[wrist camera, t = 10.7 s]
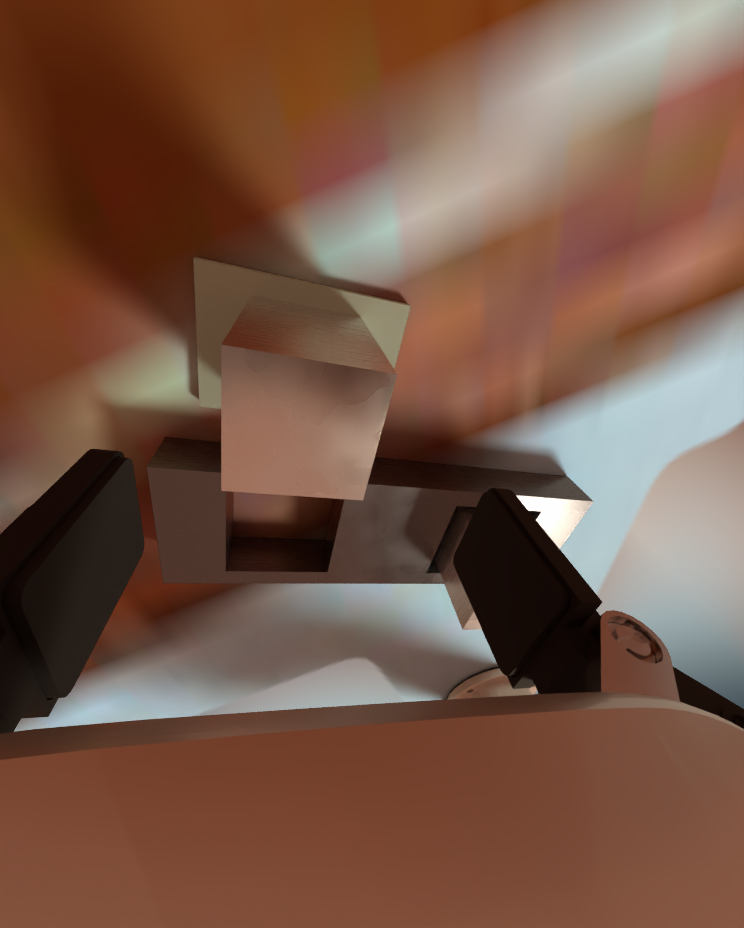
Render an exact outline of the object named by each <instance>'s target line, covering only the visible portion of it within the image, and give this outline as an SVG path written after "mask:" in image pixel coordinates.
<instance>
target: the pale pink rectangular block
mask: <svg viewBox="0 0 744 928" xmlns="http://www.w3.org/2000/svg"><path fill="white" fill-rule="evenodd" d="M396 378H397V373H396V371H395V370H394V368H393V367H392V365H391V364H390V362H389V360H388V359H387V357H386V356H385V354H384V352H383V351H382V349H381V348H380V346H379V345H378V343H377V341H376V340H375V338H374V337H373V335H372V333H371V332H370V330H369V329H368V327H367V326H366V324H365V322H364V321H363V319H362V318H361V317H357V316H353V315H348V314H343V313H338V312H333V311H329V310H324V309H319V308H314V307H309V306H305V305H300V304H295V303H290V302H285V301H281V300H276V299H271V298H266V297H261V296H257V295H251V297H250V299H249V300H248V302H247V304H246V305H245V307H244V309H243V310H242V312H241V313H240V315H239V317H238V318H237V320H236V322H235V323H234V325H233V326H232V328H231V330H230V331H229V333H228V335H227V336H226V338H225V339H224V341H223V343H222V344H221V491H231V492H246V493H261V494H275V495H290V496H305V497H320V498H334V499H349V500H363V498H364V495H365V491H366V487H367V484H368V480H369V476H370V473H371V469H372V465H373V462H374V458H375V454H376V451H377V447H378V443H379V440H380V436H381V433H382V429H383V425H384V422H385V418H386V414H387V411H388V407H389V403H390V400H391V396H392V392H393V389H394V385H395V381H396Z"/></svg>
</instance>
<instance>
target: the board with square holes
mask: <svg viewBox="0 0 744 928" xmlns="http://www.w3.org/2000/svg"><path fill="white" fill-rule="evenodd" d="M147 472H148V479H149V486H150V494H151V501H152V508H153V515H154V522H155V529H156V536H157V543H158V550H159V557H160V564H161V571H162V579H163V583H380V584H444V582H443V579H442V577H441V574H440V572H439V569H438V567H437V564H436V561H435V559H434V555H435V553H436V550H437V548H438V546H439V544H440V542H441V539H442V537H443V535H444V533H445V531H446V528H447V526H448V524H449V522H450V519H451V517H452V515H453V513H454V511H455V508H456V506H465V507H477V504H478V502H479V500H480V498H481V496H482V494H483V493H484V492H487V491H488V490H489V489H490V488H501V489H509V490H512V491H513V492H514V493H515V495H516V496H517V497H518V498H519V500H520V501H521V502H522V503H523V505H524V506H525V507H526V508H527V510H528V511H529V512H530V513H531V515H532V516H533V517H534V518H535V519H536V521H537V522H538V523H539V524H540V526H541V527H542V528H543V529H544V531H545V532H546V533H547V534H548V536H549V537H550V538H551V539H552V540H553V542H554V543H555V544H556V545H557V547H558V548H559V549H560V548H561V546H562V545H563V544H564V542H565V541H566V539H567V538H568V537H569V535H570V534H571V532H572V531H573V530H574V528H575V527H576V525H577V524H578V523H579V521H580V520H581V518H582V517H583V516H584V514H585V513H586V511H587V510H588V509H589V507H590V506H591V504H592V503H593V502H594V501H592V500H591V499H590V498H589V497H588V496H587V495H586V494H585V493H584V492H583V491H582V490H581V489H580V488H579V487H578V486H577V485H576V484H575V483H574V482H573V481H572V480H571V479H570V478H569V477H567V476H558V475H547V474H537V473H527V472H517V471H507V470H496V469H486V468H476V467H466V466H456V465H445V464H435V463H425V462H415V461H404V460H394V459H384V458H374V462H373V465H372V469H371V473H370V476H369V480H368V484H367V487H366V491H365V495H364V498H363V500H349V499H334V500H333V505H332V509H331V514H330V519H329V524H328V529H327V533H326V538H325V540H301V539H270V538H240V537H233V492H231V491H221V442H210V441H200V440H190V439H180V438H169V437H165V438H164V440H163V441H162V443H161V445H160V446H159V448H158V450H157V451H156V453H155V454H154V456H153V458H152V459H151V461H150V463H149V464H148V466H147Z"/></svg>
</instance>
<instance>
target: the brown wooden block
mask: <svg viewBox="0 0 744 928" xmlns="http://www.w3.org/2000/svg"><path fill="white" fill-rule="evenodd" d="M475 509H476V507H465V506H456V508H455V511H454V513H453V515H452V517H451V519H450V522H449V524H448V526H447V528H446V531H445V533H444V535H443V537H442V539H441V542H440V544H439V546H438V548H437V550H436V553H435V555H434V559H435V561H436V564H437V567H438V569H439V572H440V574H441V577H442V579H443V582H444V584H445V587H446V589H447V592H448V594H449V597H450V599H451V602H452V604H453V607H454V609H455V612H456V614H457V617H458V619H459V622H460V624H461V627H462V629H463V630H468V629H482V628H481V626H480V624H479V622H478V619H477V617H476V615H475V613H474V610H473V608H472V606H471V604H470V601H469V599H468V597H467V595H466V592H465V590H464V588H463V586H462V583H461V581H460V579H459V577H458V574H457V572H456V570H455V568H454V564H453V558H454V554H455V552H456V550H457V548H458V546H459V543H460V541H461V539H462V537H463V535H464V533H465V530H466V528H467V526H468V524H469V522H470V520H471V517H472V515H473V513H474V511H475Z"/></svg>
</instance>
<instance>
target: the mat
mask: <svg viewBox="0 0 744 928" xmlns="http://www.w3.org/2000/svg"><path fill="white" fill-rule="evenodd" d="M193 265H194V289H195V313H196V337H197V362H198V386H199V406H201V407H209V408H217V409H221V344H222V343H223V341H224V339H225V338H226V336H227V335H228V333H229V331H230V330H231V328H232V326H233V325H234V323H235V322H236V320H237V318H238V317H239V315H240V313H241V312H242V310H243V309H244V307H245V305H246V304H247V302H248V300H249V299H250V297H251V295H257V296H261V297H266V298H271V299H276V300H281V301H285V302H290V303H295V304H300V305H305V306H309V307H314V308H319V309H324V310H329V311H333V312H338V313H343V314H348V315H353V316H357V317H361V318H362V319H363V321H364V322H365V324H366V326H367V327H368V329H369V330H370V332H371V333H372V335H373V337H374V338H375V340H376V341H377V343H378V345H379V346H380V348H381V349H382V351H383V352H384V354H385V356H386V357H387V359H388V360H389V362H390V364H391V365H392V367H393V368H395V364H396V360H397V357H398V353H399V349H400V345H401V341H402V337H403V334H404V330H405V326H406V322H407V318H408V315H409V311H410V307H411V306H410V305H409V304H407V303H402V302H398V301H393V300H389V299H384V298H380V297H375V296H371V295H366V294H362V293H357V292H353V291H348V290H344V289H339V288H335V287H330V286H326V285H321V284H317V283H312V282H308V281H303V280H299V279H294V278H289V277H285V276H280V275H276V274H271V273H267V272H262V271H258V270H253V269H249V268H244V267H240V266H235V265H231V264H226V263H222V262H217V261H213V260H208V259H204V258H199V257H195V258H193Z"/></svg>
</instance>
